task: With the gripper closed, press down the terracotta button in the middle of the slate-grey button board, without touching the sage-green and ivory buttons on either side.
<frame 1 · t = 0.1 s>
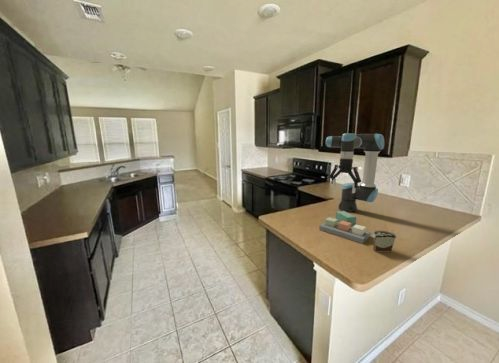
hand: (343, 190, 143), 28 cm above the worktop, fingers open, 13 cm apart
box: (344, 223, 162), on the worktop
sage button: (331, 222, 151), point 5 cm above the worktop, slide at 0.0 cm
ivory button: (358, 230, 138), point 5 cm above the worktop, slide at 0.0 cm
food container: (379, 249, 126), on the worktop
terracotta button: (344, 225, 145), point 5 cm above the worktop, slide at 0.0 cm
button board: (343, 232, 146), on the worktop
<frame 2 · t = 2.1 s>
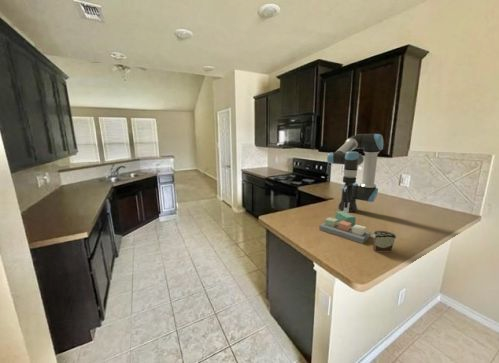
hand: (346, 212, 143), 15 cm above the worktop, fingers closed
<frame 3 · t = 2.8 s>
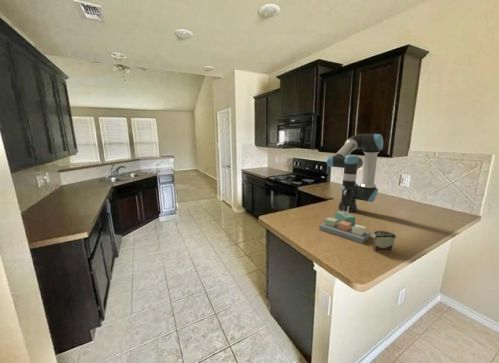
hand: (345, 215, 143), 12 cm above the worktop, fingers closed
nothing on the worktop moved.
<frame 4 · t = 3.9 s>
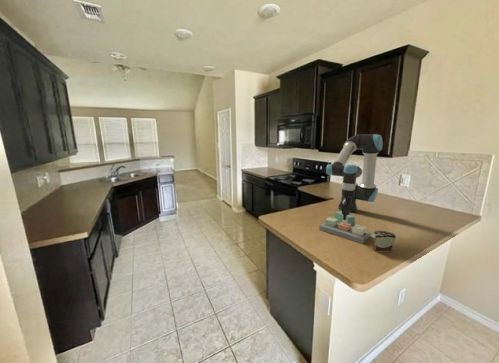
hand: (344, 224, 144), 6 cm above the worktop, fingers closed
terracotta button: (344, 227, 145), point 4 cm above the worktop, slide at 0.9 cm, touching gripper
everything else where it was.
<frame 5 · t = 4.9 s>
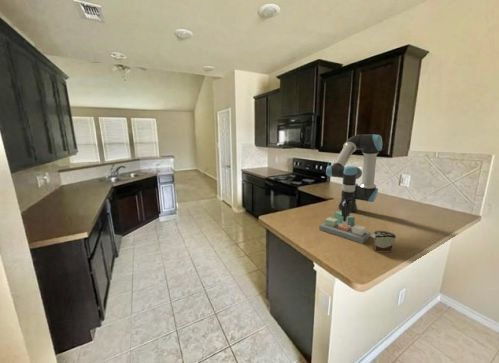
hand: (344, 225, 145), 5 cm above the worktop, fingers closed
terracotta button: (344, 228, 145), point 3 cm above the worktop, slide at 2.0 cm
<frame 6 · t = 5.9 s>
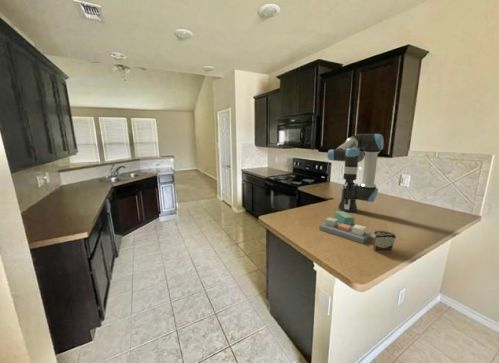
hand: (346, 208, 143), 17 cm above the worktop, fingers closed
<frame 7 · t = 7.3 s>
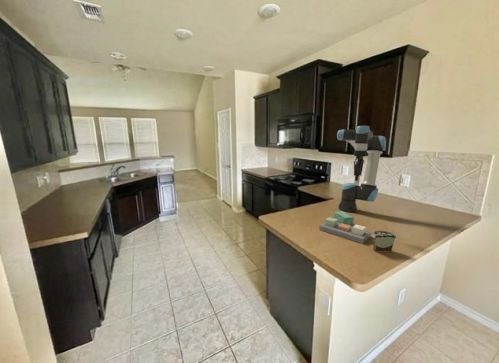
hand: (356, 185, 149), 30 cm above the worktop, fingers closed
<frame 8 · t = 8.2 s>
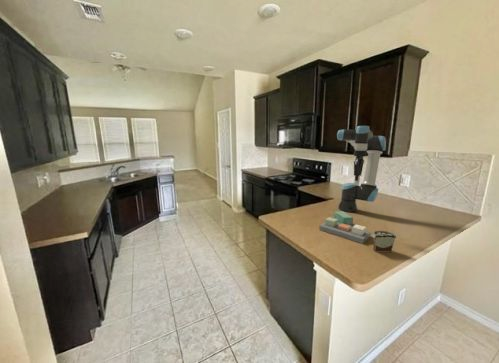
hand: (356, 185, 149), 30 cm above the worktop, fingers closed
at the end: terracotta button slide at 2.0 cm; sage button slide at 0.0 cm; ivory button slide at 0.0 cm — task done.
